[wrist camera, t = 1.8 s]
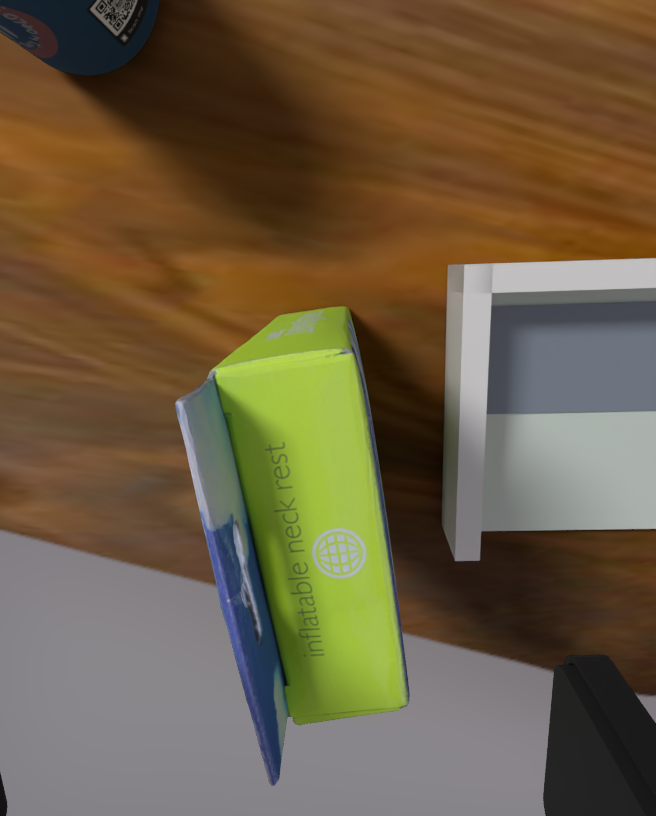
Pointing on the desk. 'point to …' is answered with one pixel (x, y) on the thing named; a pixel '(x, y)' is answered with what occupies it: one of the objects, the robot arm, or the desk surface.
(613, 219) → the desk surface
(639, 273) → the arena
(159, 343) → the desk surface
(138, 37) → the soda can
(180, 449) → the desk surface
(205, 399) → the box
